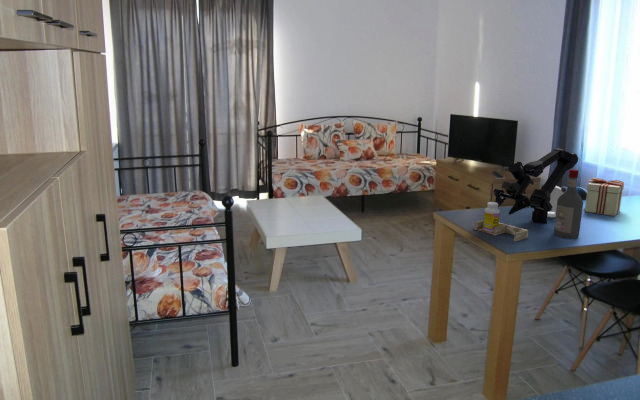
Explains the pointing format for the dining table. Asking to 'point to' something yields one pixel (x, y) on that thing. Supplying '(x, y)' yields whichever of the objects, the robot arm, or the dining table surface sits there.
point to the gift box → (604, 196)
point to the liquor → (569, 210)
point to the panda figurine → (555, 199)
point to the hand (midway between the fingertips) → (501, 211)
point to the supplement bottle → (491, 217)
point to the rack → (504, 230)
